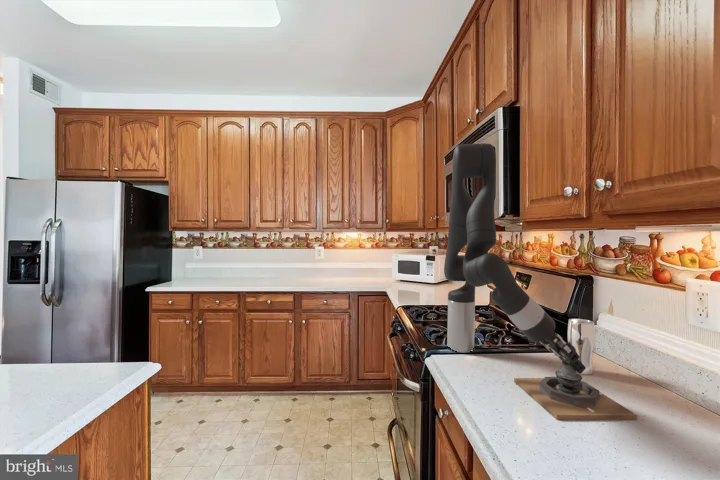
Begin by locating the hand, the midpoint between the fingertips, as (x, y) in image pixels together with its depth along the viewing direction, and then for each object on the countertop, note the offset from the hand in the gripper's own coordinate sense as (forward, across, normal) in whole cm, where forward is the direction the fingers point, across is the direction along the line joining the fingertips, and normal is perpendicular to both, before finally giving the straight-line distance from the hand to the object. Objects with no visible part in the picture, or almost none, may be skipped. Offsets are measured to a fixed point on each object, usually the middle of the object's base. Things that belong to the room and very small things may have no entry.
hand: (576, 367), depth 87 cm
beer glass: (+15, +18, -4) cm, 24 cm away
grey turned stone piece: (+3, 0, +6) cm, 6 cm away
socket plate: (+4, 0, +7) cm, 8 cm away
